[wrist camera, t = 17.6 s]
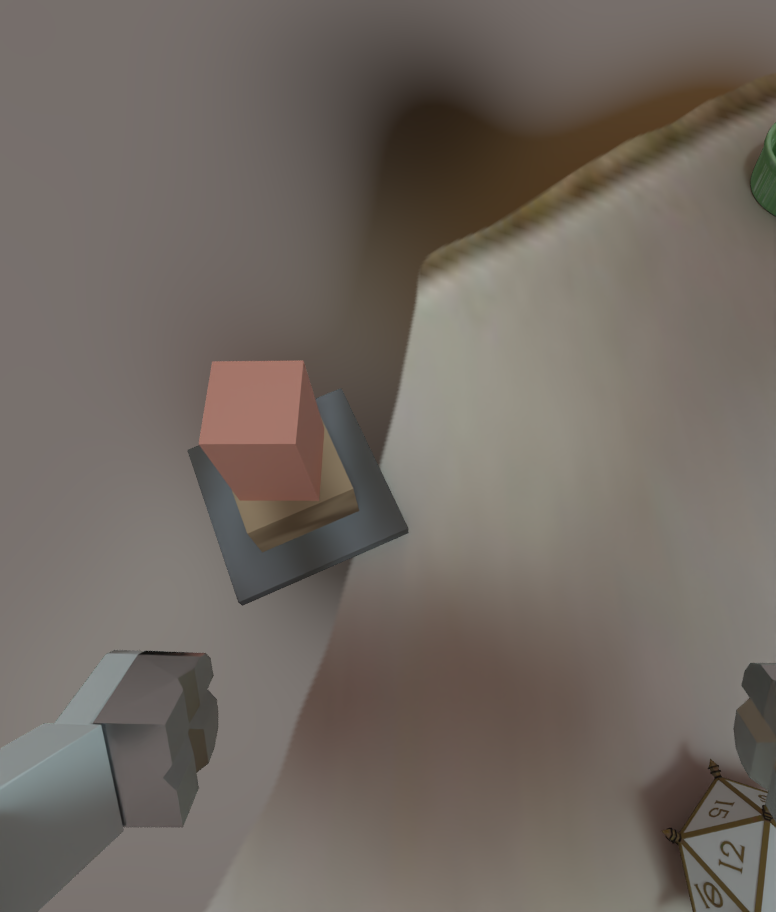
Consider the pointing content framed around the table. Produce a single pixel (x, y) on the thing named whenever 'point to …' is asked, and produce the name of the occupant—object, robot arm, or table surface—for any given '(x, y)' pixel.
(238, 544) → the tower base
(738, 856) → the game die
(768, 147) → the ramekin
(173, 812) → the robot arm
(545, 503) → the table surface
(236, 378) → the red block
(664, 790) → the table surface
